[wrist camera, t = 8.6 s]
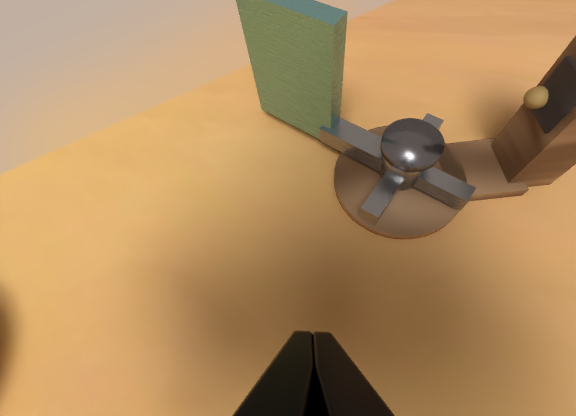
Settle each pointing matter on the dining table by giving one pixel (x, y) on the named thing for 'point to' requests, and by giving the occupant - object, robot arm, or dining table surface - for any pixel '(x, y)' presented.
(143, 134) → the dining table surface
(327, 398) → the robot arm
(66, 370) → the dining table surface
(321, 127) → the turnstile
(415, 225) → the stand
